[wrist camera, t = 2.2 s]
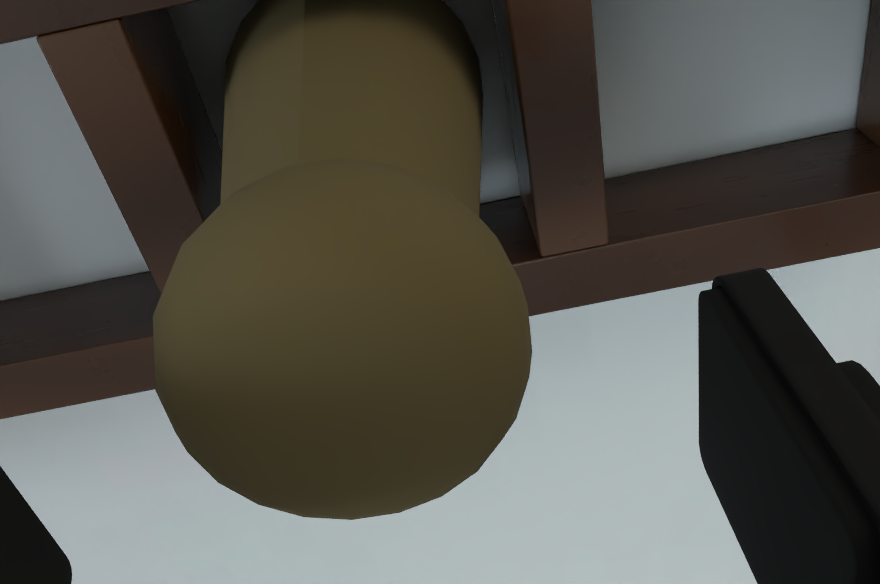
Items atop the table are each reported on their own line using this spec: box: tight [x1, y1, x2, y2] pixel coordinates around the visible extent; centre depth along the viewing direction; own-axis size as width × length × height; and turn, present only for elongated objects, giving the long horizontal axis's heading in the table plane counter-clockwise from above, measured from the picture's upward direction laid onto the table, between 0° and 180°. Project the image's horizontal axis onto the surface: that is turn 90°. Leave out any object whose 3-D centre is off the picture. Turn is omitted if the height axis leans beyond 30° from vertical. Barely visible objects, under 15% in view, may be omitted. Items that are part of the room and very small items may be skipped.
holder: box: [0, 0, 880, 419], centre depth 18 cm, size 10×27×3 cm, turn 100°
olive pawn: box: [153, 0, 532, 520], centre depth 14 cm, size 6×6×11 cm
